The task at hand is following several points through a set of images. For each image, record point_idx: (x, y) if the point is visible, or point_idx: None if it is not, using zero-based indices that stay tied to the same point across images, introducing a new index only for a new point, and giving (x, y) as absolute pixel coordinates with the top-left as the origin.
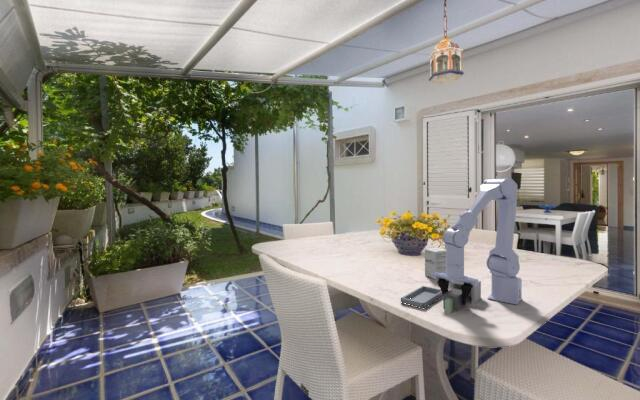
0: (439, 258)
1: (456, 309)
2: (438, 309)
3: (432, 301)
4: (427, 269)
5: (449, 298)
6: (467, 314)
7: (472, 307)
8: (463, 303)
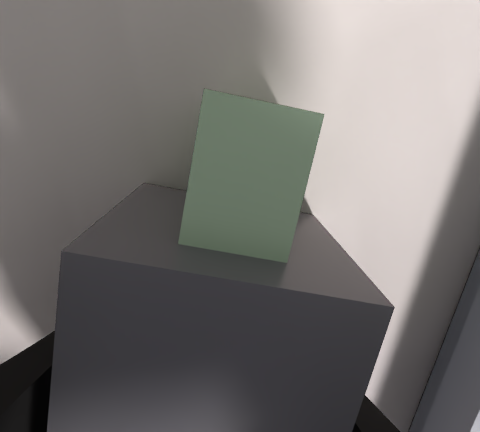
0: None
1: (144, 188)
2: (365, 155)
3: (464, 332)
4: None
5: (245, 247)
6: (11, 155)
7: None
8: None
